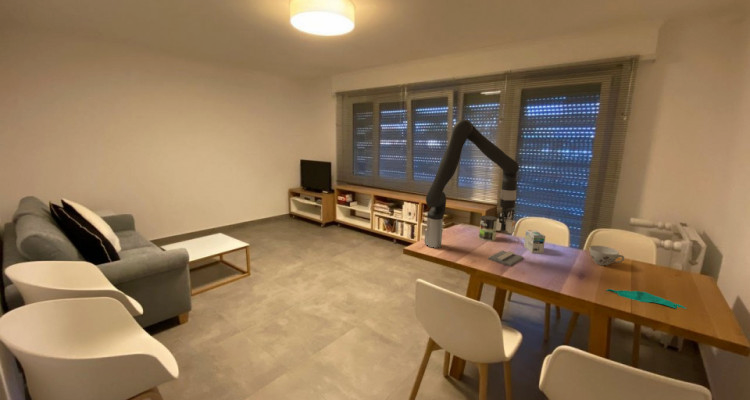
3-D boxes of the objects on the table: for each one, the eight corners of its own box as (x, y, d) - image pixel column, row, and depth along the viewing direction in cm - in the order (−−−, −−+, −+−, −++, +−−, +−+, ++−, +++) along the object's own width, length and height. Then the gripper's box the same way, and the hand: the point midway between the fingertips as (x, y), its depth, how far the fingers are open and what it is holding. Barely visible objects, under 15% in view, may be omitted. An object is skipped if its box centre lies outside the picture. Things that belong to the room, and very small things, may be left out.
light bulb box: (543, 253, 178) (546, 235, 176) (531, 253, 178) (534, 235, 176) (534, 247, 188) (536, 229, 186) (523, 246, 189) (525, 229, 186)
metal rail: (497, 259, 165) (497, 257, 165) (509, 253, 174) (509, 251, 174) (502, 261, 163) (502, 259, 163) (514, 254, 172) (514, 252, 172)
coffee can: (485, 241, 196) (487, 220, 193) (475, 236, 205) (477, 215, 203) (499, 240, 199) (501, 219, 196) (488, 235, 209) (490, 215, 206)
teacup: (585, 263, 165) (588, 249, 163) (588, 257, 174) (590, 243, 172) (621, 272, 155) (624, 257, 154) (622, 264, 165) (625, 250, 163)
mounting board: (488, 259, 168) (488, 257, 168) (502, 252, 179) (502, 250, 178) (510, 266, 159) (510, 264, 159) (523, 258, 170) (523, 256, 170)
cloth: (688, 305, 126) (689, 300, 126) (688, 319, 117) (689, 313, 116) (609, 283, 144) (610, 279, 144) (603, 294, 134) (604, 289, 134)
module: (496, 230, 169) (496, 219, 168) (500, 228, 172) (500, 217, 171) (511, 233, 163) (512, 222, 162) (514, 231, 166) (515, 220, 165)
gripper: (507, 195, 172) (504, 225, 175) (494, 198, 162) (492, 230, 165) (521, 197, 166) (518, 228, 169) (508, 201, 157) (506, 233, 160)
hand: (505, 229), depth 167 cm, fingers closed on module, 4 cm apart
